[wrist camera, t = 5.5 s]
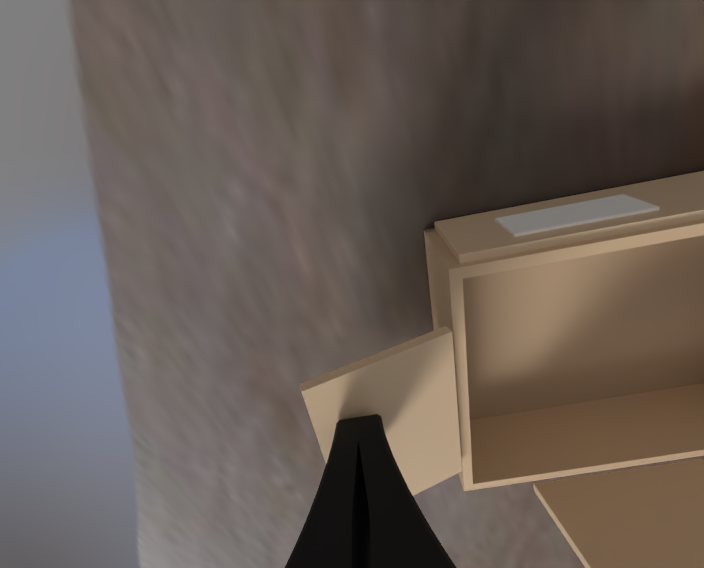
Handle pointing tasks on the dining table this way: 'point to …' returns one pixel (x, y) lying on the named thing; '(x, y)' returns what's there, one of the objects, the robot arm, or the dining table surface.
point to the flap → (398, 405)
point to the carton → (575, 330)
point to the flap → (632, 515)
